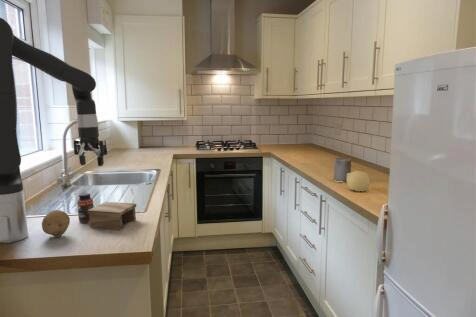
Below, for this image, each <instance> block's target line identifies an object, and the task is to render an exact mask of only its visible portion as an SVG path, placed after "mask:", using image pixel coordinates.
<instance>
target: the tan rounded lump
mask: <svg viewBox="0 0 476 317" xmlns="http://www.w3.org/2000/svg"><path fill="white" fill-rule="evenodd" d="M368 175H369V173H367V172H365V171H360V170H354V171H351V173H347V183H346V186H347V188H348V189H349V190H350V189H351V190H350V191H353V190H355V192H360V191H361V192H365V191H367V190H368V189H369V187H370V183H371V182H370V178H369V176H368Z"/></svg>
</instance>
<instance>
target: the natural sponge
mask: <svg viewBox="0 0 476 317" xmlns="http://www.w3.org/2000/svg"><path fill="white" fill-rule="evenodd" d="M70 222H71V219H70V216H69V214H68V213H67V212H65V211H63V210H61V209H60V210H59V209H55V210H52V211H50V212H48V213H47V214H45V216H44V217H43V218H42V221H41V229H42V231H43V232H44V233H45V234H46V235H50V236H52V237H55V238H60V237H61V236H63V235H64V234H65V232H66V231H67V229H68V228H69V225H70Z"/></svg>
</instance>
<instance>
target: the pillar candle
mask: <svg viewBox="0 0 476 317" xmlns="http://www.w3.org/2000/svg"><path fill="white" fill-rule="evenodd" d="M333 162H334V164H333V168H334V169H333V181H334V180H336V181H343V182H347V173H351V172H352V158H350V157H335V158H334V161H333Z"/></svg>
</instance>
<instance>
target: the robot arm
mask: <svg viewBox="0 0 476 317" xmlns="http://www.w3.org/2000/svg"><path fill="white" fill-rule="evenodd" d="M13 57H14V58H17V59H19V60H20V61H23V62H25V63H27V64H29V65H31V66H32V67H34V68H36V69H38V70H39V71H41V72H43V73H45V74H47V75H48V76H50V77H52V78H54V79H56V80H58V81H59V82H64V83H67V84H69V85H71V89H72V94H73V98H74V101H75V104H76V105H75V106H76V117H77V118H76V122H77V131H78V133H77V134H78V138H79V139H74V140H73V154H74V155H77V157H78V158H79V164H80V166H85V165H86V164H87V162H86V155H85V154H86V152H87V153H88V151H89V152H93V153H94V154H95V155H96V156H97V157H96V160H97V166H98V167H103V165H104V156H108V149H107V148H108V147H107V142H106V140H105V139H102V140H99V137H100V134H99V131H100V130H99V123H98V122H99V121H98V116H97V109H96V107H97V106H96V101H95V100H94V99H93V97H92V94H91V92H92V91H94V90H95V89H96V87H97V83H96V79H95V78H94V77H93V76H92V75H91V74H90V73H87V72H85V71H83V70H82V69H79V68H78V67H75V66H72V65H70V64H69V63H67V62H65V61H64V60H62V59H60V58H59V57H57V56H55V55H54V54H52V53H49V52H47V51H44V50H42V49H40V48H37V47H35V46H34V45H31V44H29V43H26V42H25V41H23V40H21V39H20V38H19V37H17V36H16V35H14V31H13V28H12V26H11V25H10V24H9V22H8V21H6V19H4V18H2V17H0V243H2V244H11V243H14V242H18V241H22V240H24V239H26V238H27V237H28V236H29V231H28V220H27V213H26V202H25V193H24V184H23V181H22V177H21V168H20V166H21V162H22V157H21V152H20V146H19V141H18V135H17V125H18V124H17V123H18V108H17V107H18V105H17V104H18V102H17V89H16V81H15V74H14V68H13V66H14V65H13Z"/></svg>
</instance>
